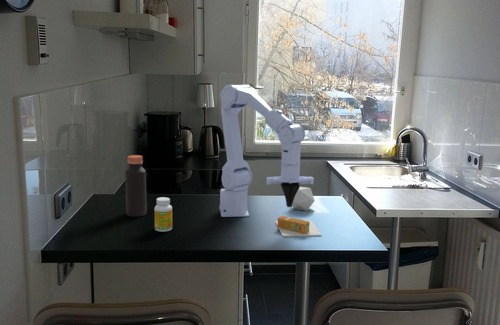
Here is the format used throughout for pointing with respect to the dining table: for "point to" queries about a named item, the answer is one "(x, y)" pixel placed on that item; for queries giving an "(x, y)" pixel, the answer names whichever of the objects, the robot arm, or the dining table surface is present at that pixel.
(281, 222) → the supplement box
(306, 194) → the die
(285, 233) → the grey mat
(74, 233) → the dining table surface
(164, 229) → the supplement bottle
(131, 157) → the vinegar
